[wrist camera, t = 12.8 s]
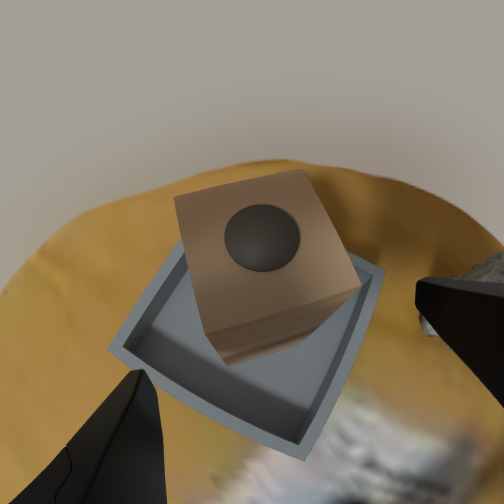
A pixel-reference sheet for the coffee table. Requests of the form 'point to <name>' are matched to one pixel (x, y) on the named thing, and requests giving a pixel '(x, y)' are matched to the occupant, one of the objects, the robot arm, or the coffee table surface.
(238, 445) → the coffee table surface
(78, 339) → the coffee table surface
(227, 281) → the wooden block
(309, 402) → the tray
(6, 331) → the coffee table surface
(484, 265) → the mineral rock
